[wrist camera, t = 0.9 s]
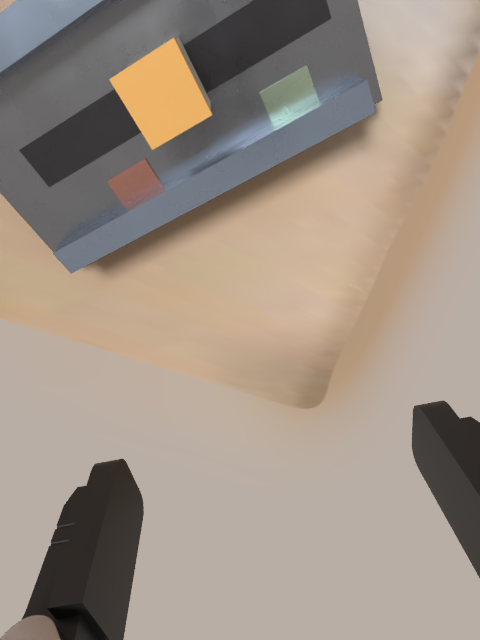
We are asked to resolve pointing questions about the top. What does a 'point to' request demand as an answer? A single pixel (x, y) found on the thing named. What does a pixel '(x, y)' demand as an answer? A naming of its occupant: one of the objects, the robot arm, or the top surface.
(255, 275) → the top surface
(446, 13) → the top surface
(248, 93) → the panel
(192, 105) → the breaker toggle
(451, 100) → the top surface
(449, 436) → the robot arm
